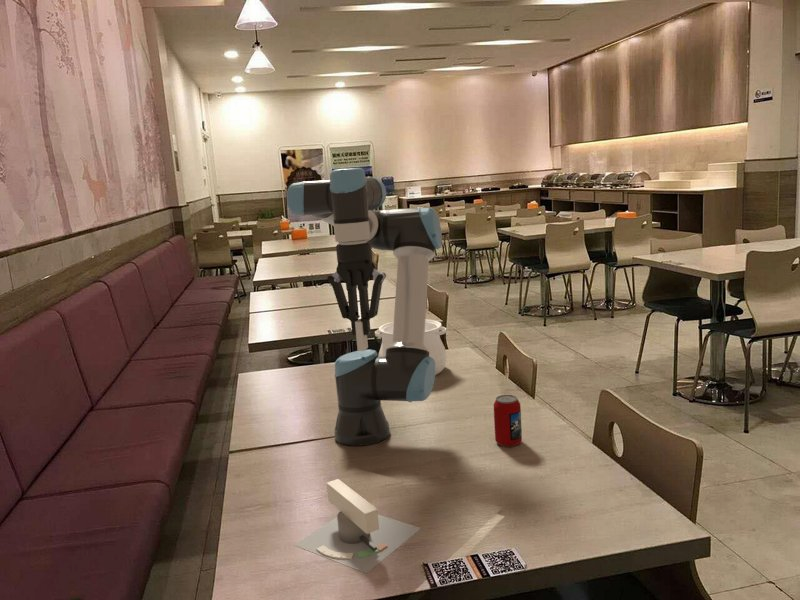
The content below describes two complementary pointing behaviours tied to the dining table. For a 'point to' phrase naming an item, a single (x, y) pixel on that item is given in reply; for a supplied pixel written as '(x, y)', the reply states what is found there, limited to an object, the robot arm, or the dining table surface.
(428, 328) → the pot
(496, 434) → the beverage can
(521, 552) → the dining table surface
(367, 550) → the tuner board
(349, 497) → the rotary bar knob
